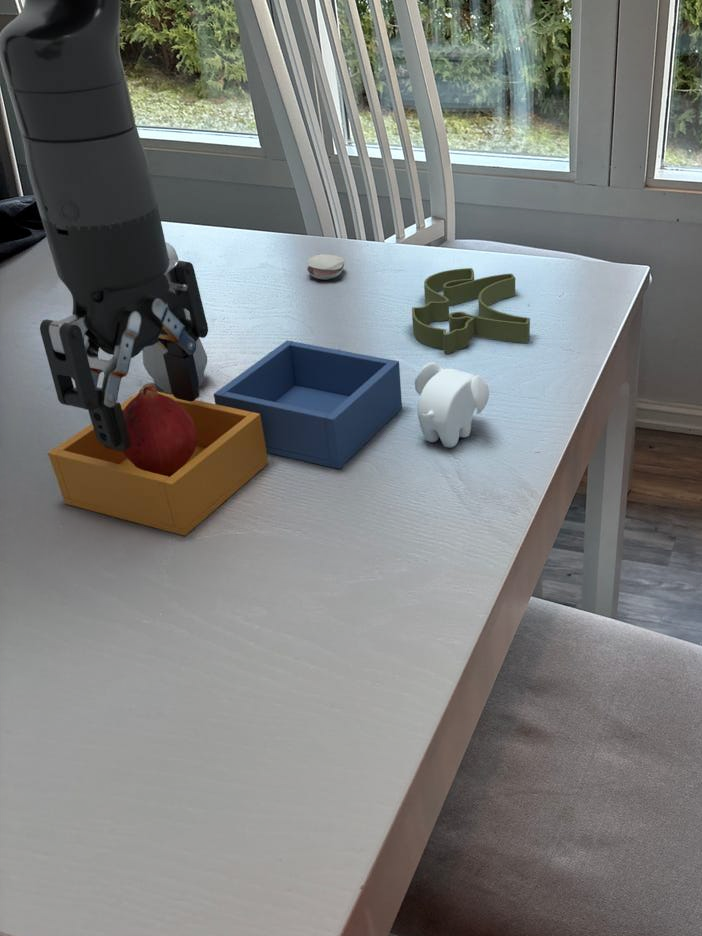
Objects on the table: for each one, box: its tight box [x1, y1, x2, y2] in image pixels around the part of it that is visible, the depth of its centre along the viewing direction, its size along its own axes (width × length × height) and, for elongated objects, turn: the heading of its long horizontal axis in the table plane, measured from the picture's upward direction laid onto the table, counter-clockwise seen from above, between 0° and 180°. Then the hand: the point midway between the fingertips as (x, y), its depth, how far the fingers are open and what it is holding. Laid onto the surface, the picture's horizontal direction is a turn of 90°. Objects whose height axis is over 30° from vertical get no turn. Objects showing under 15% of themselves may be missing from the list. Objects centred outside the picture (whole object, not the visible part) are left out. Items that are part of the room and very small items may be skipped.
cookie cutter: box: [411, 267, 531, 355], centre depth 102 cm, size 18×12×2 cm, turn 5°
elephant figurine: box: [414, 361, 490, 448], centre depth 82 cm, size 7×8×6 cm
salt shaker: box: [141, 241, 208, 395], centre depth 87 cm, size 6×6×13 cm
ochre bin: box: [47, 391, 269, 537], centre depth 77 cm, size 12×12×5 cm
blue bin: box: [213, 340, 403, 470], centre depth 84 cm, size 12×12×5 cm
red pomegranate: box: [123, 382, 197, 477], centre depth 75 cm, size 6×6×8 cm
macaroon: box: [306, 253, 345, 281], centre depth 112 cm, size 4×5×2 cm
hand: (153, 422), depth 74 cm, fingers open, 8 cm apart
